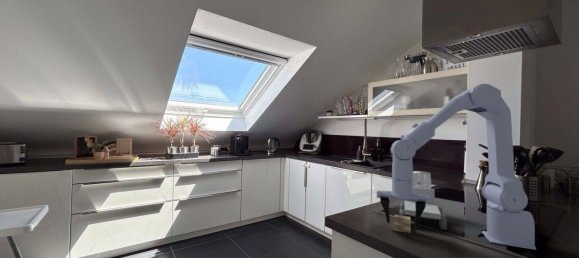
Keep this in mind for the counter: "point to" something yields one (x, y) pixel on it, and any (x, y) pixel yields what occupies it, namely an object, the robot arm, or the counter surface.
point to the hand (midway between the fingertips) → (401, 224)
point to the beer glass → (421, 179)
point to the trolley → (430, 209)
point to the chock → (402, 223)
